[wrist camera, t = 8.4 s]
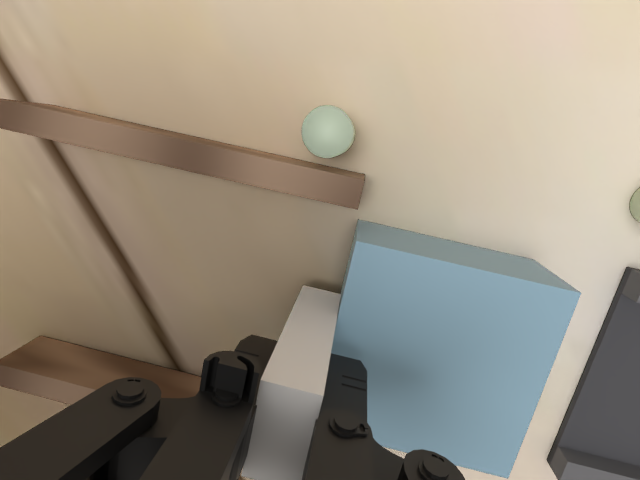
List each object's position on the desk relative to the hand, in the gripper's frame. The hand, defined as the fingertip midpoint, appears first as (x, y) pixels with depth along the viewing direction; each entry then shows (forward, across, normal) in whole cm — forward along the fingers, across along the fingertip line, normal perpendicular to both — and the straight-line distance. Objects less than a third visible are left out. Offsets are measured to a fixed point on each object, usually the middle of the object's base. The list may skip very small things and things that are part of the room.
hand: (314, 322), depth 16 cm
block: (+2, +4, 0) cm, 5 cm away
